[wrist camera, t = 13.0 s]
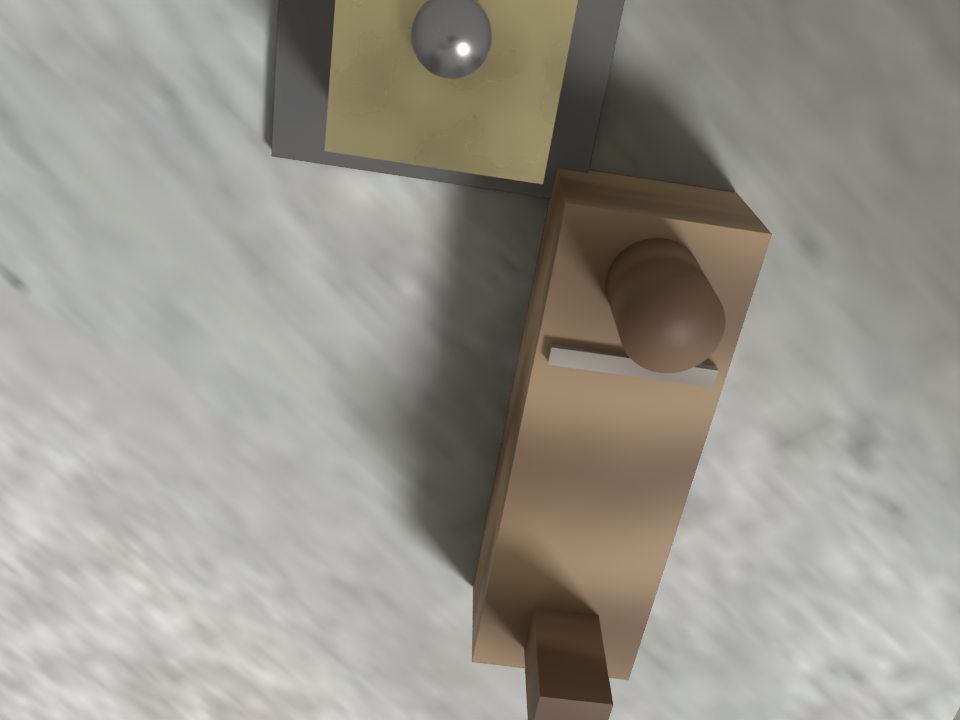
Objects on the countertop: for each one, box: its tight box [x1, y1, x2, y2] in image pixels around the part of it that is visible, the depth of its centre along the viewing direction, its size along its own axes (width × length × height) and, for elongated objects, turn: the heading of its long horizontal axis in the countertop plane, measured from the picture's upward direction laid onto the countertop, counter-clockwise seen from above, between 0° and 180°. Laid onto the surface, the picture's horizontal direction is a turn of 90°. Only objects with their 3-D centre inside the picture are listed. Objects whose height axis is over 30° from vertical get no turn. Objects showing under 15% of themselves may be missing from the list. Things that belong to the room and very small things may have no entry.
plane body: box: [472, 168, 772, 720], centre depth 29 cm, size 18×6×8 cm, turn 171°
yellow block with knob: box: [324, 0, 578, 184], centre depth 24 cm, size 7×6×5 cm
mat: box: [272, 0, 625, 198], centre depth 26 cm, size 10×10×1 cm
